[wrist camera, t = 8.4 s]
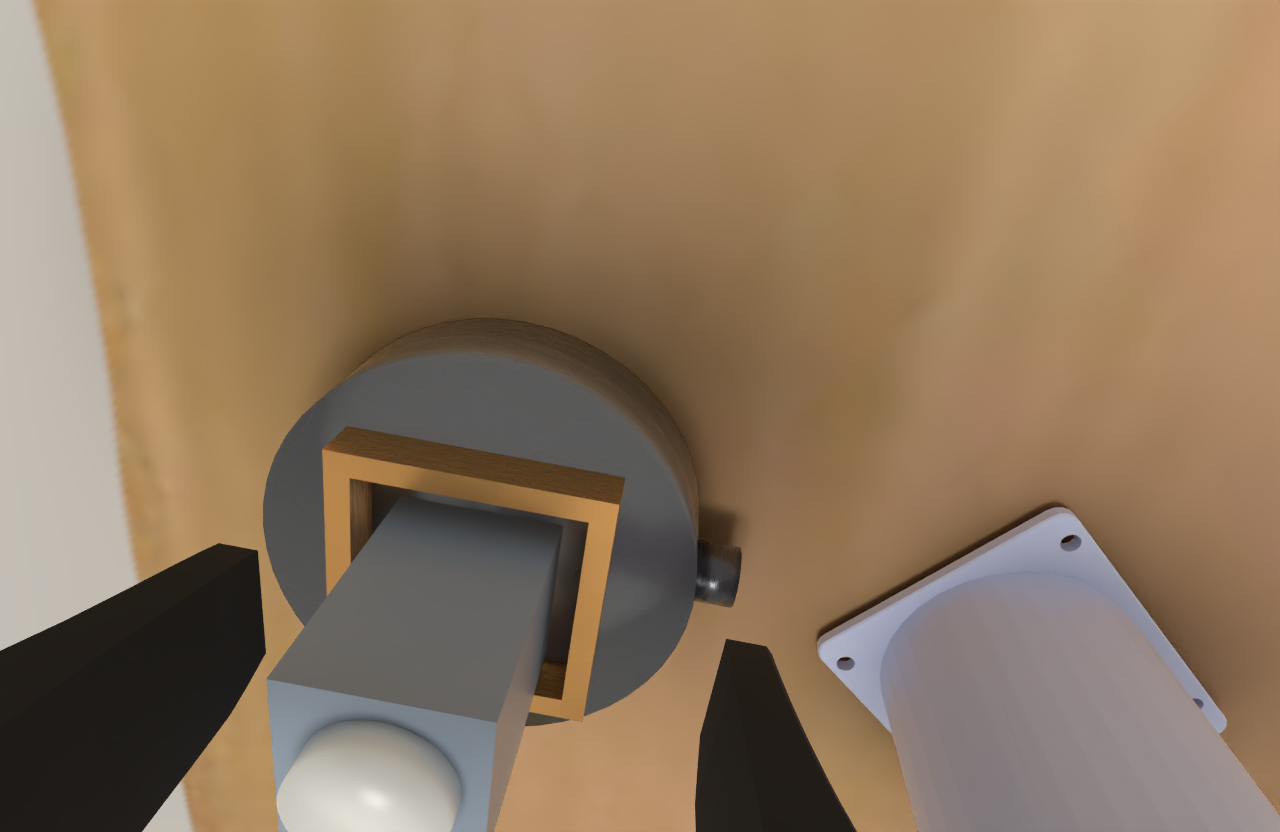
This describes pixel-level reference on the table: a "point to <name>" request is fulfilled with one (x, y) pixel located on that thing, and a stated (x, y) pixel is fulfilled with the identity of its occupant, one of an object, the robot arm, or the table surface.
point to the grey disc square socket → (511, 490)
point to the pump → (415, 675)
